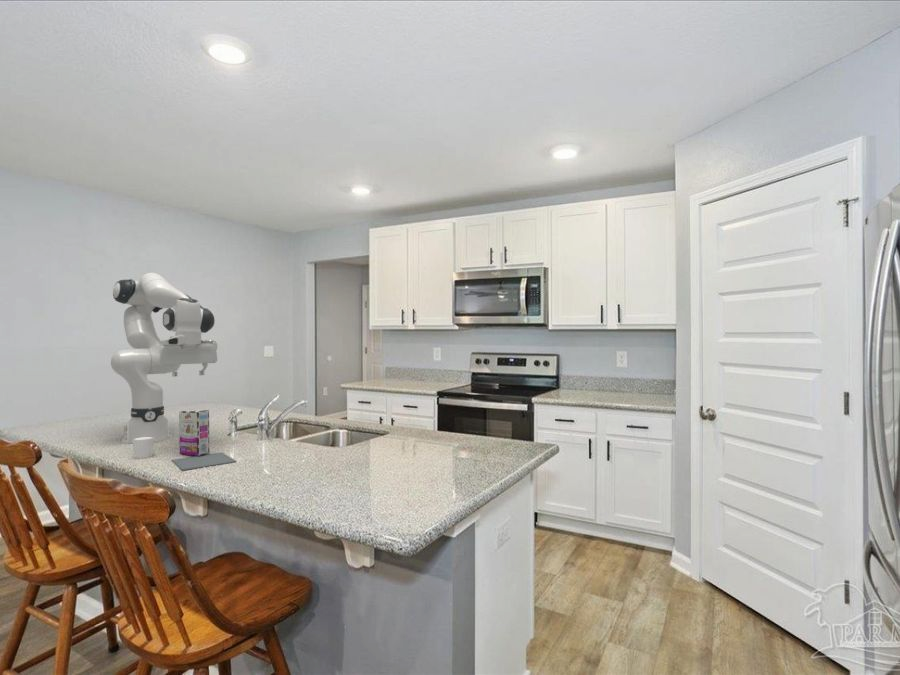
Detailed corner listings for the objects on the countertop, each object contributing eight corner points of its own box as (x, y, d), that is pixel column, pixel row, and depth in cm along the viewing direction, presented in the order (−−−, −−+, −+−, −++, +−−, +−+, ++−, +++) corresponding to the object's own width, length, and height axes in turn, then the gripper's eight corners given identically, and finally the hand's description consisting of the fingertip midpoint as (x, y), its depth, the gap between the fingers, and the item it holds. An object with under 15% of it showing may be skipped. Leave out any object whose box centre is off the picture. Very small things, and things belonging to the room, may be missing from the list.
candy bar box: (210, 454, 182) (209, 409, 183) (198, 456, 178) (197, 411, 178) (191, 452, 187) (190, 409, 188) (178, 454, 183) (178, 410, 183)
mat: (171, 461, 174) (171, 459, 174) (222, 453, 185) (222, 452, 185) (182, 471, 161) (182, 469, 161) (236, 462, 172) (236, 461, 172)
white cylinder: (158, 455, 183) (158, 436, 183) (145, 459, 176) (145, 440, 176) (141, 454, 183) (141, 436, 183) (127, 459, 177) (127, 439, 177)
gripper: (215, 339, 199) (215, 373, 199) (157, 340, 185) (157, 376, 185) (219, 339, 194) (219, 374, 194) (160, 340, 180) (160, 377, 180)
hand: (188, 375), depth 189 cm, fingers open, 8 cm apart
